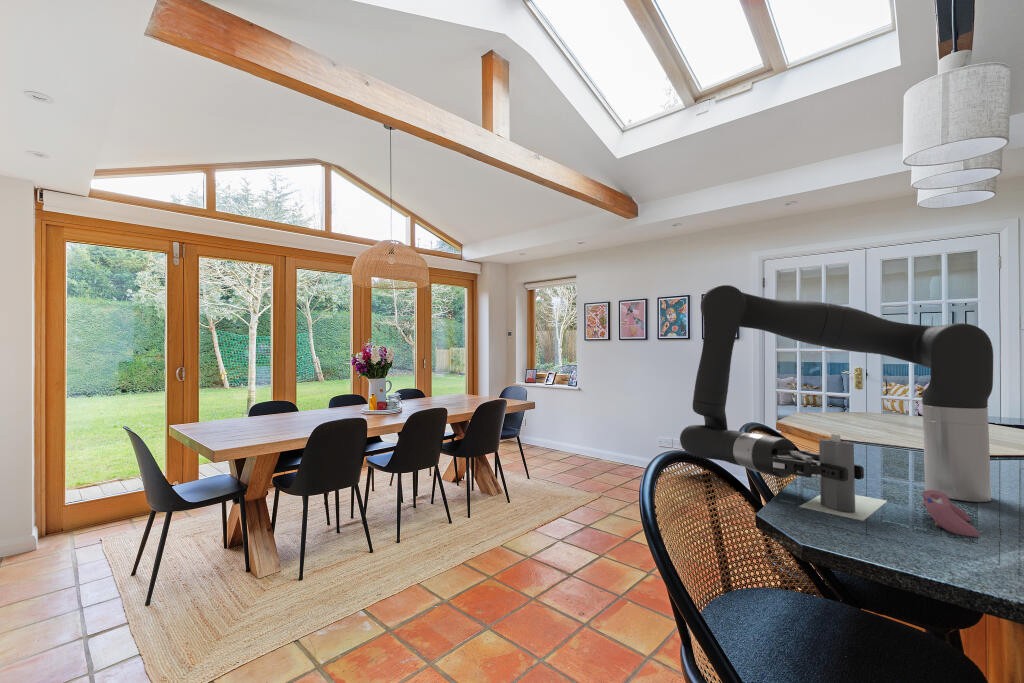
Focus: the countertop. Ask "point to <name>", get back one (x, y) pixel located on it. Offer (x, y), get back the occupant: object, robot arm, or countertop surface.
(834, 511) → the mat
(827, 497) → the candle
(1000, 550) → the countertop surface
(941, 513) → the video game controller
